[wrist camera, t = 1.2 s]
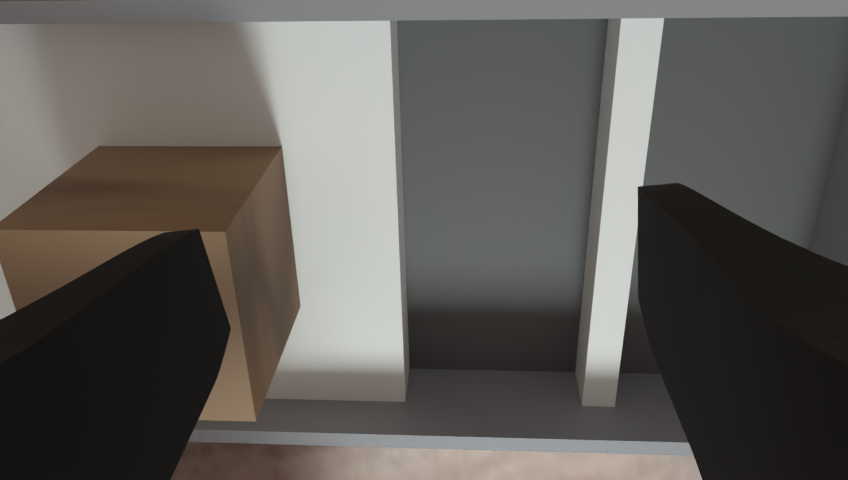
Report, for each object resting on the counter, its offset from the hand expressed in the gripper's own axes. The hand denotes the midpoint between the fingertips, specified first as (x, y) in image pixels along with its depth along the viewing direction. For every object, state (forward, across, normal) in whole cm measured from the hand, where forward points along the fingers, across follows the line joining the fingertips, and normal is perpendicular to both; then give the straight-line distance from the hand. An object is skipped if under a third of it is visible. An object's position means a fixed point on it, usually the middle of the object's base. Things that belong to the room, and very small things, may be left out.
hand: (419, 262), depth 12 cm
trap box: (+10, +6, +3) cm, 11 cm away
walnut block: (+7, +7, +3) cm, 11 cm away
